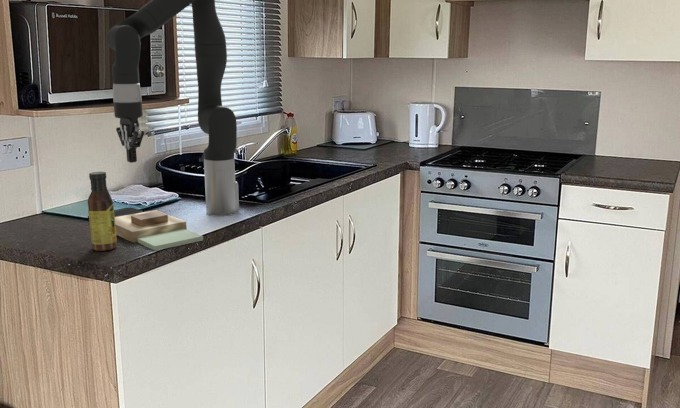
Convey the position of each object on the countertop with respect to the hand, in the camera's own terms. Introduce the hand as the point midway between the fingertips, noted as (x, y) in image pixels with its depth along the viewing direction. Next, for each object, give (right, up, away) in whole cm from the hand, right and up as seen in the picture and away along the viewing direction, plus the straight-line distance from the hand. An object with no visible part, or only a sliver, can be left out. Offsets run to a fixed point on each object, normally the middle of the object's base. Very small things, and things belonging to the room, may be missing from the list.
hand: (132, 161), depth 193 cm
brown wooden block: (+6, -17, -2) cm, 18 cm away
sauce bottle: (-2, -24, -16) cm, 29 cm away
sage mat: (+13, -22, -10) cm, 28 cm away
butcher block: (+4, -19, 0) cm, 20 cm away
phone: (-10, -16, +17) cm, 26 cm away
